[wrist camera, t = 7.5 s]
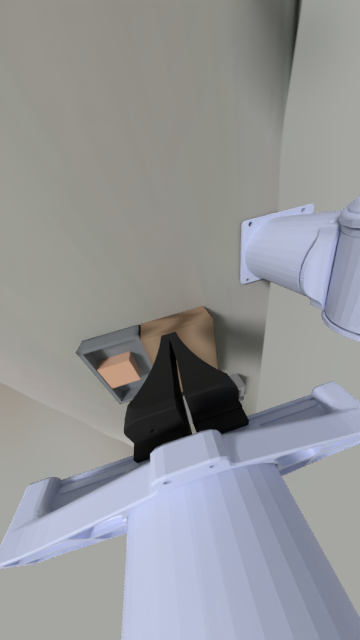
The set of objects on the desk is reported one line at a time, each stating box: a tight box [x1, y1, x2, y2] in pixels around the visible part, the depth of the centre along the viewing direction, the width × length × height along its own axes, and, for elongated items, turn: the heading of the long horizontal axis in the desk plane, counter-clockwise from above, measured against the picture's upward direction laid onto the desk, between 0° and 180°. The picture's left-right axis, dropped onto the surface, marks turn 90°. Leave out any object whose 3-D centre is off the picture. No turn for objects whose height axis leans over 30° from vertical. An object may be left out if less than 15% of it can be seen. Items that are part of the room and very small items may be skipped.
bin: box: [76, 325, 152, 404], centre depth 25 cm, size 9×14×2 cm, turn 12°
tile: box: [97, 351, 141, 388], centre depth 25 cm, size 5×5×2 cm
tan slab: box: [140, 306, 218, 392], centre depth 25 cm, size 10×14×4 cm
